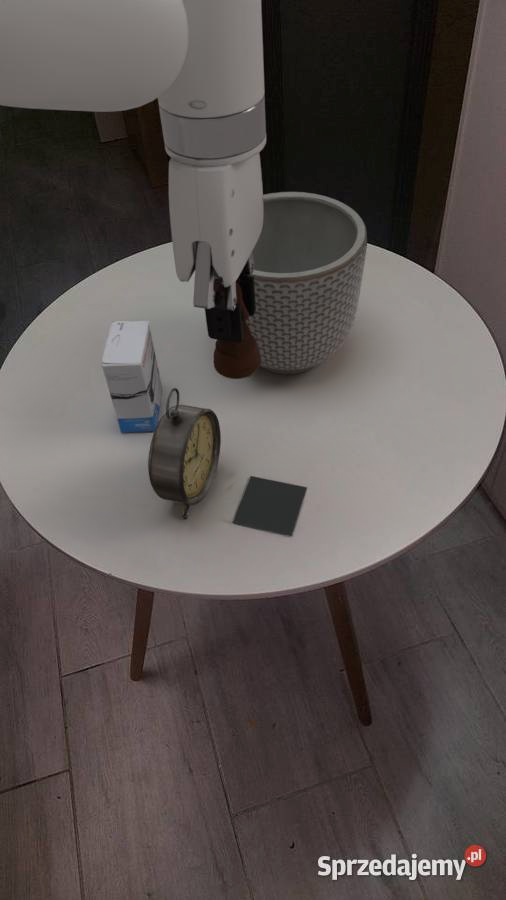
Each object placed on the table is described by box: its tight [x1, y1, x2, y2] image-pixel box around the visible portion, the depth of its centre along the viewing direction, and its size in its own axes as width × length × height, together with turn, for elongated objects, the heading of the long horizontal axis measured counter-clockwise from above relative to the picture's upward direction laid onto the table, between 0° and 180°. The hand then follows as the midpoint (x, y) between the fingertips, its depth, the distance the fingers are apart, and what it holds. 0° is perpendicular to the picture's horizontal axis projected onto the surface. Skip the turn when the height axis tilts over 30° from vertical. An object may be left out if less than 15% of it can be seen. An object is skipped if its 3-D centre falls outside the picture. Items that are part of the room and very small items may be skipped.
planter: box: [246, 191, 368, 375], centre depth 90 cm, size 20×20×19 cm
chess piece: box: [213, 278, 261, 380], centre depth 63 cm, size 5×5×10 cm
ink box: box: [101, 320, 163, 434], centre depth 87 cm, size 8×5×12 cm, turn 179°
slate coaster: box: [232, 475, 308, 537], centre depth 80 cm, size 7×7×1 cm
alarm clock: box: [147, 387, 222, 520], centre depth 76 cm, size 11×5×16 cm, turn 161°
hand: (232, 323), depth 63 cm, fingers closed on chess piece, 3 cm apart
